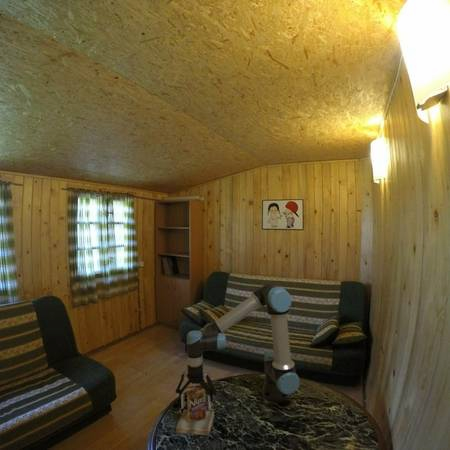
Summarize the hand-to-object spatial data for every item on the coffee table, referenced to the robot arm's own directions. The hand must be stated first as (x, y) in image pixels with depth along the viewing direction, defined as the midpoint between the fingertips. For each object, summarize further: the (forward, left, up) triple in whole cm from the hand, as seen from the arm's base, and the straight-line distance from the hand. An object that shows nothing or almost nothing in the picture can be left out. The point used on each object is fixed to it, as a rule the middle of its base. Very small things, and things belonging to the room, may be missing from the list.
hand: (196, 407), depth 134 cm
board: (0, 0, -8) cm, 8 cm away
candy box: (0, 0, -6) cm, 6 cm away
